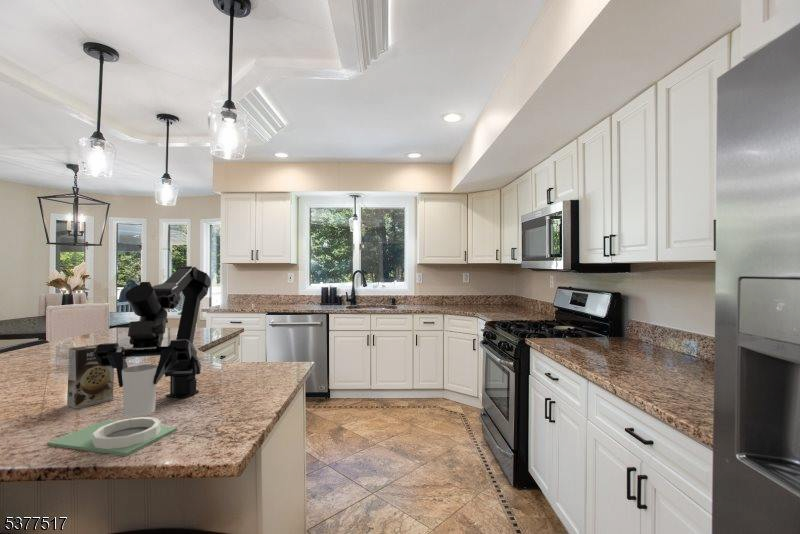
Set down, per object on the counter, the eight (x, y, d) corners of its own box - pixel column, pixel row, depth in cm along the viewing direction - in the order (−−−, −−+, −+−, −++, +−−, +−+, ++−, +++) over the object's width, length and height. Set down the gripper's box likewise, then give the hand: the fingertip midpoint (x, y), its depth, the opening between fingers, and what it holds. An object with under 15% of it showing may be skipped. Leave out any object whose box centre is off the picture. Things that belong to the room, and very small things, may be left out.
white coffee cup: (140, 419, 82) (140, 372, 82) (113, 417, 83) (113, 371, 83) (164, 407, 88) (164, 365, 88) (139, 406, 89) (139, 363, 90)
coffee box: (75, 409, 103) (76, 350, 103) (66, 405, 106) (67, 347, 107) (114, 400, 111) (115, 344, 111) (105, 396, 114) (106, 342, 114)
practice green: (47, 445, 82) (47, 433, 82) (105, 422, 94) (105, 411, 94) (126, 455, 77) (126, 443, 77) (177, 430, 90) (177, 419, 90)
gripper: (97, 308, 86) (74, 369, 76) (189, 306, 93) (181, 361, 82) (109, 337, 94) (90, 396, 83) (194, 333, 100) (186, 387, 90)
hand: (137, 384), depth 84 cm, fingers closed on white coffee cup, 6 cm apart
